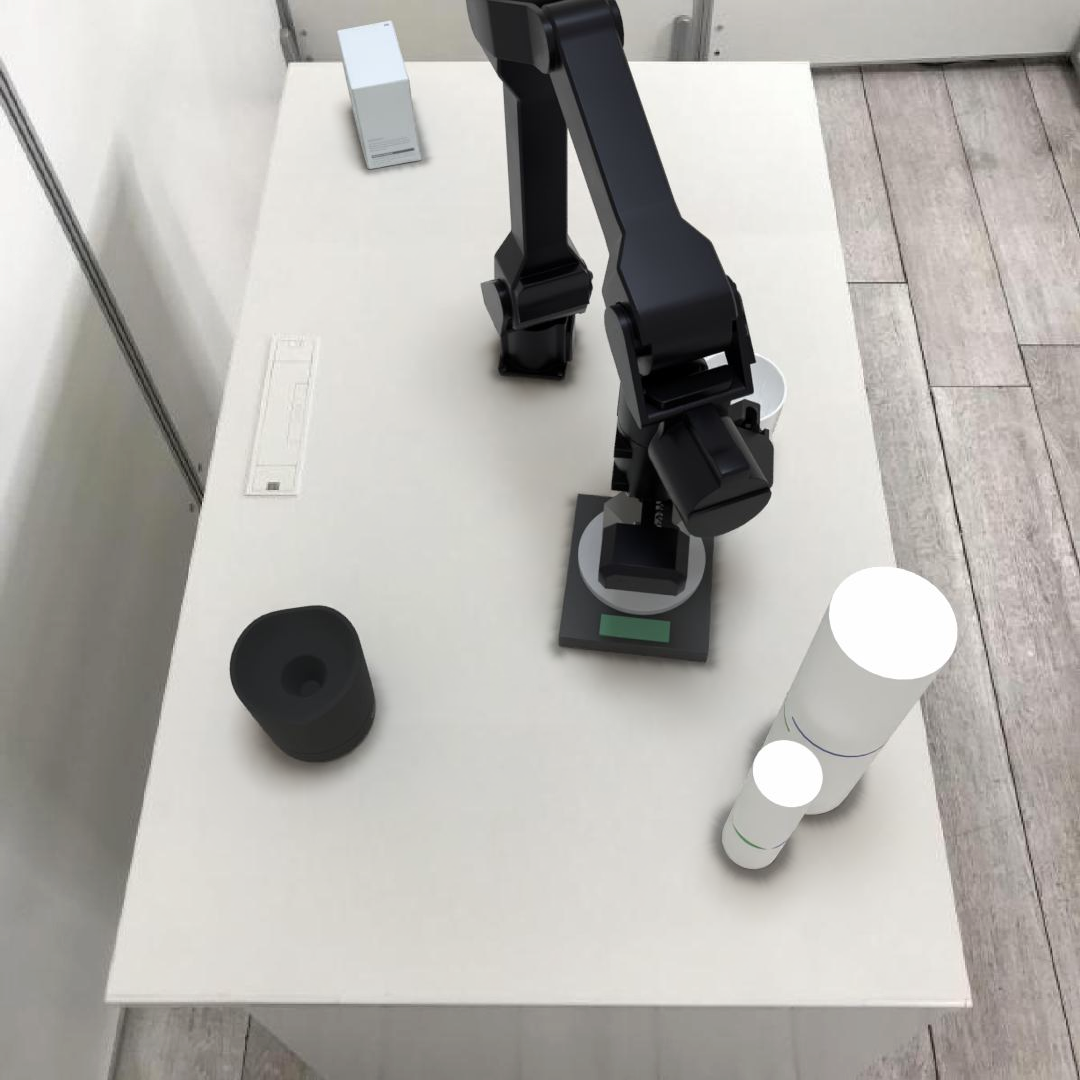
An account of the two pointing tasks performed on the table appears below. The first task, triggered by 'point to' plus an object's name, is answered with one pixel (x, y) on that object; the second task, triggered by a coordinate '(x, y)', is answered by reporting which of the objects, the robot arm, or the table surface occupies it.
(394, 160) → the cosmetics box
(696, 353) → the robot arm
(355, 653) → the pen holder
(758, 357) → the white cup
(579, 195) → the table surface
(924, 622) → the cylindrical container
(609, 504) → the dice cube
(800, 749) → the tube
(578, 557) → the scale
